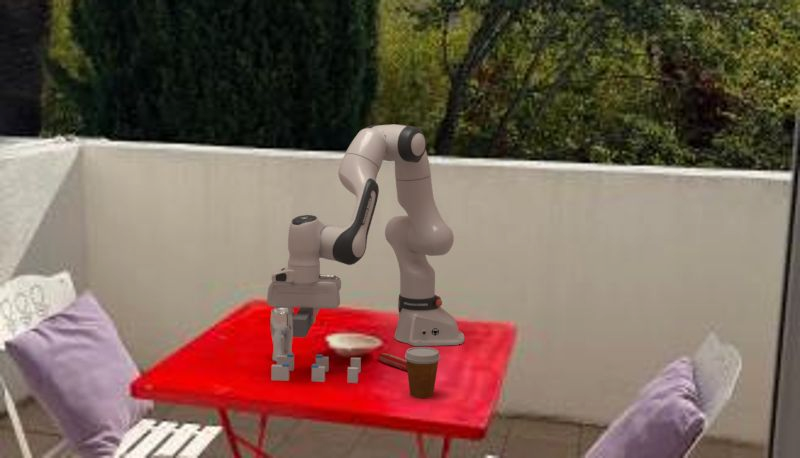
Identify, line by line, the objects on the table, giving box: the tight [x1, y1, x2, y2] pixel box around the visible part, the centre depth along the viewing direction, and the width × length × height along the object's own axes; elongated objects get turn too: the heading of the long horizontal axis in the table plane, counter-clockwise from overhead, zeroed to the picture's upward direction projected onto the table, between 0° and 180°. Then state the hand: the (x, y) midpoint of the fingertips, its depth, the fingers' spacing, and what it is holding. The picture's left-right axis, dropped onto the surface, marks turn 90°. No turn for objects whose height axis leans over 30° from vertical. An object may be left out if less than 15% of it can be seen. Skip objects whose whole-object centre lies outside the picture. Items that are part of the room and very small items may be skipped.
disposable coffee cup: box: [404, 346, 441, 399], centre depth 273 cm, size 10×10×12 cm
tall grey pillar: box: [293, 307, 315, 338], centre depth 285 cm, size 4×16×5 cm, turn 177°
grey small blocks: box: [270, 353, 362, 384], centre depth 288 cm, size 24×10×5 cm, turn 87°
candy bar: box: [376, 352, 408, 372], centre depth 298 cm, size 16×4×3 cm, turn 42°
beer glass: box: [270, 308, 295, 363], centre depth 301 cm, size 7×7×15 cm
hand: (303, 322), depth 286 cm, fingers closed on tall grey pillar, 3 cm apart
